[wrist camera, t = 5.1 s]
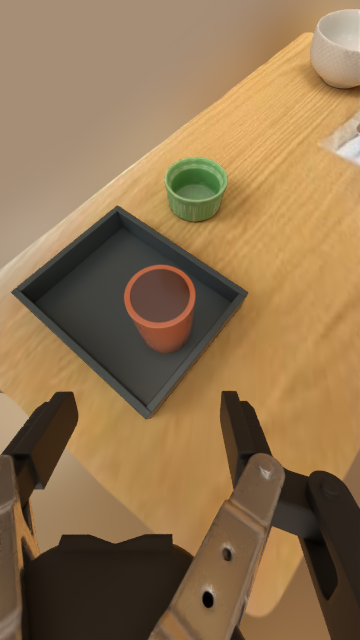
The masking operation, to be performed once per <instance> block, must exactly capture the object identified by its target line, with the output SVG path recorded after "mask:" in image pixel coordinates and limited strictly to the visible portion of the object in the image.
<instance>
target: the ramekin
mask: <svg viewBox="0 0 360 640" xmlns="http://www.w3.org/2000/svg"><path fill="white" fill-rule="evenodd" d="M227 183H228V177H227V174H226V172H225V170H224V169H223V167H222V166H221V165H219V164H218V163H216V162H215V161H213V160H210V159H207V158H202V157H189V158H184V159H181V160H179V161H177V162H175V163H174V164H172V165H171V166H170V167H169V168H168V170H167V172H166V174H165V186H166V189H167V192H168V199H169V204H170V207H171V209H172V211H173V212H174V214H176V215H177V216H178V217H180V218H182V219H184V220H187V221H192V222H197V221H203V220H206V219H209V218H210V217H212V216H213V215H214V214H215V213H216V212H217V211H218V209H219V207H220V204H221V200H222V197H223V193H224V191H225V189H226V187H227Z"/></svg>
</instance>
